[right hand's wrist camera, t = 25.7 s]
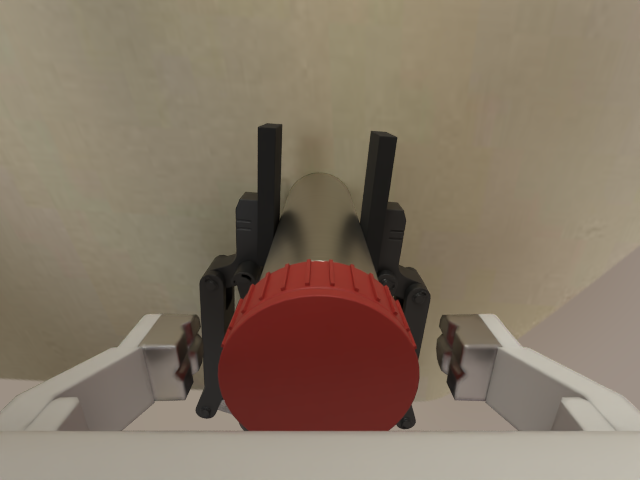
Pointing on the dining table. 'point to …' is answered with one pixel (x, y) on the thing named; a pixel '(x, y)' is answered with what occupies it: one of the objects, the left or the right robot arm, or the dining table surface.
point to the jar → (319, 227)
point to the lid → (318, 352)
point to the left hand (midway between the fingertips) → (327, 130)
